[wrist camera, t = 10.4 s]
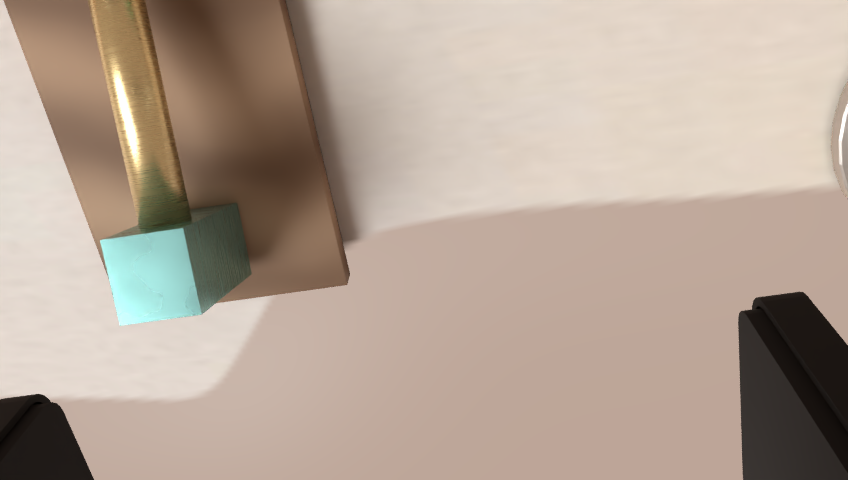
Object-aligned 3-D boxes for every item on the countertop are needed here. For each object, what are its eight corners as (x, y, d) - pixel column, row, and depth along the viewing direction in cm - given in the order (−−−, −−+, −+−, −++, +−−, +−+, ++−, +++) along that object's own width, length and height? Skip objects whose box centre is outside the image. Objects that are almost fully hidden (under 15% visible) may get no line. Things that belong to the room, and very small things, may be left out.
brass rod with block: (102, -91, 36) (12, -133, 29) (175, -105, 36) (101, -151, 29) (184, 283, 39) (119, 325, 33) (251, 274, 39) (201, 314, 32)
